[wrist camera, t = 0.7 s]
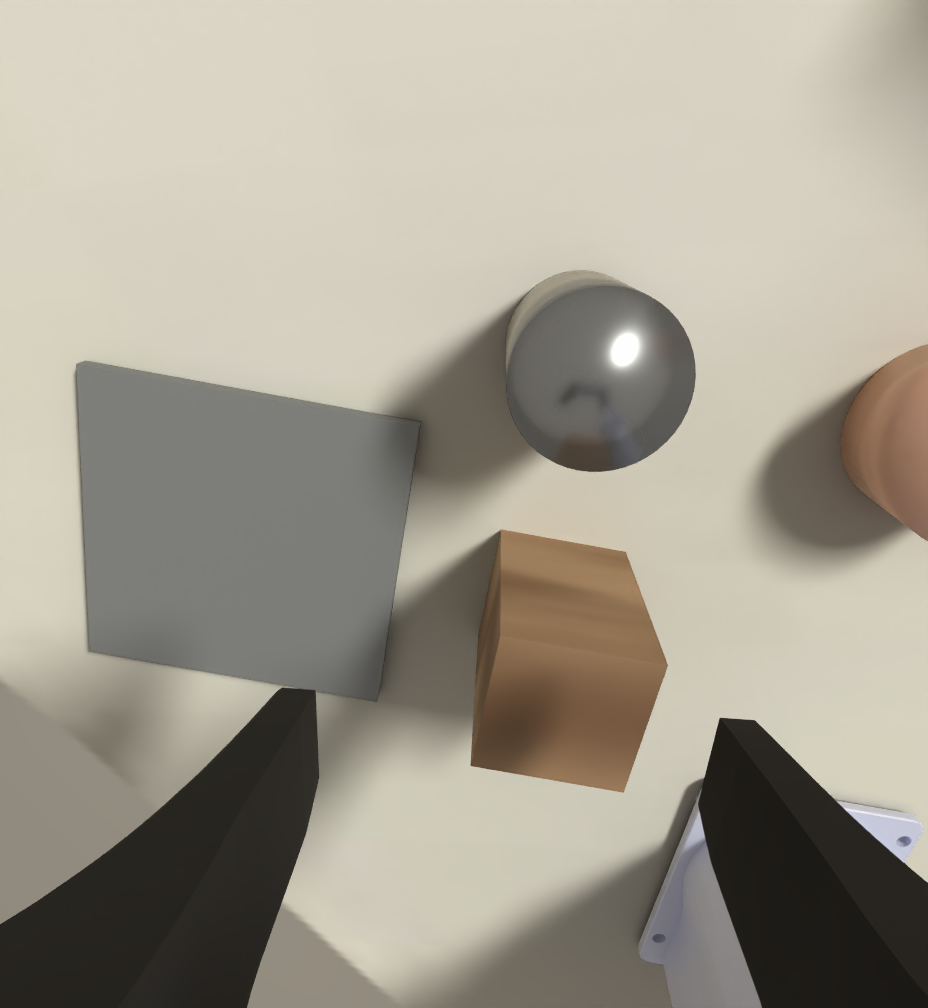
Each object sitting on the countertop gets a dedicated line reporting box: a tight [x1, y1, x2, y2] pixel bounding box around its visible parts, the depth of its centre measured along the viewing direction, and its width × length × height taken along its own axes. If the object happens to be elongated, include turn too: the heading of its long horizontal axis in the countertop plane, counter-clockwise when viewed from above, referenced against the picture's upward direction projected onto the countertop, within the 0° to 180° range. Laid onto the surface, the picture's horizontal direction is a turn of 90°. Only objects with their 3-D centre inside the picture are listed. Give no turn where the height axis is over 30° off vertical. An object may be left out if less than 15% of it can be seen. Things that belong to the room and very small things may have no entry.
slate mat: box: [76, 361, 421, 702], centre depth 22 cm, size 10×10×1 cm
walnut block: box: [471, 530, 668, 792], centre depth 20 cm, size 4×4×6 cm
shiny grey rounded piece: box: [506, 270, 696, 472], centre depth 17 cm, size 4×4×5 cm
